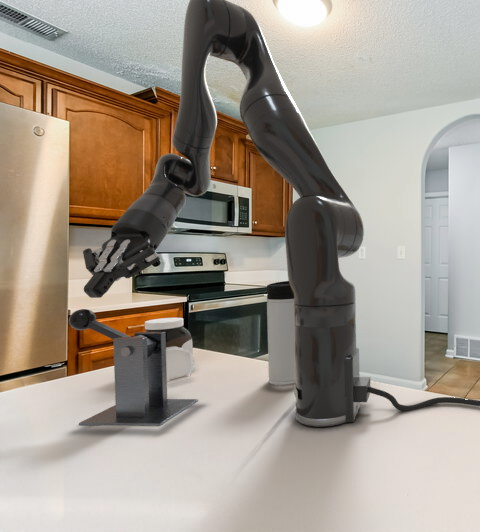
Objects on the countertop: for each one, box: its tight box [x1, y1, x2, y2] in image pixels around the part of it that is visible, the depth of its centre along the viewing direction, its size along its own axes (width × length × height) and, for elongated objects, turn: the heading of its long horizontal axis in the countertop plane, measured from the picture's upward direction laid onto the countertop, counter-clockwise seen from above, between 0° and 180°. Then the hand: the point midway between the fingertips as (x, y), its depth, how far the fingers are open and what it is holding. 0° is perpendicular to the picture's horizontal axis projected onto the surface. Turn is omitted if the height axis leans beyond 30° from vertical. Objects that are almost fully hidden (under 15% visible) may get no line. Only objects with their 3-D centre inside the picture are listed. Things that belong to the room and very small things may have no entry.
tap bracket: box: [78, 331, 199, 427], centre depth 57 cm, size 12×9×13 cm
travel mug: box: [266, 280, 296, 387], centre depth 71 cm, size 6×7×20 cm
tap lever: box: [68, 308, 157, 357], centre depth 57 cm, size 13×3×3 cm, turn 88°
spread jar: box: [144, 317, 196, 383], centre depth 76 cm, size 12×11×12 cm
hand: (91, 294), depth 59 cm, fingers closed
